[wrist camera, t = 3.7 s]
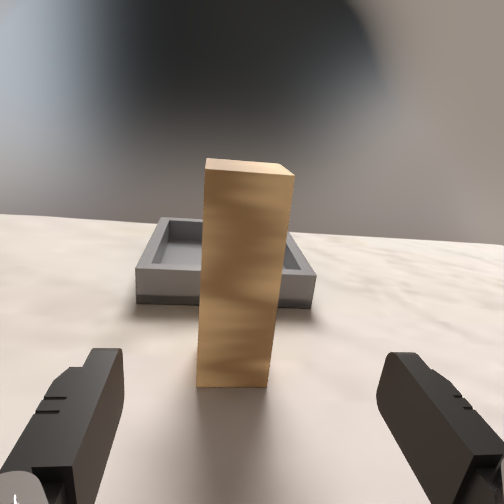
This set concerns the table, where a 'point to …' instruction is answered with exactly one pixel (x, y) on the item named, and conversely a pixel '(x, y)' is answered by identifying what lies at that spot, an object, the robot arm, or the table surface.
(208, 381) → the oak block
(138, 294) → the tray
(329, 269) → the table surface
